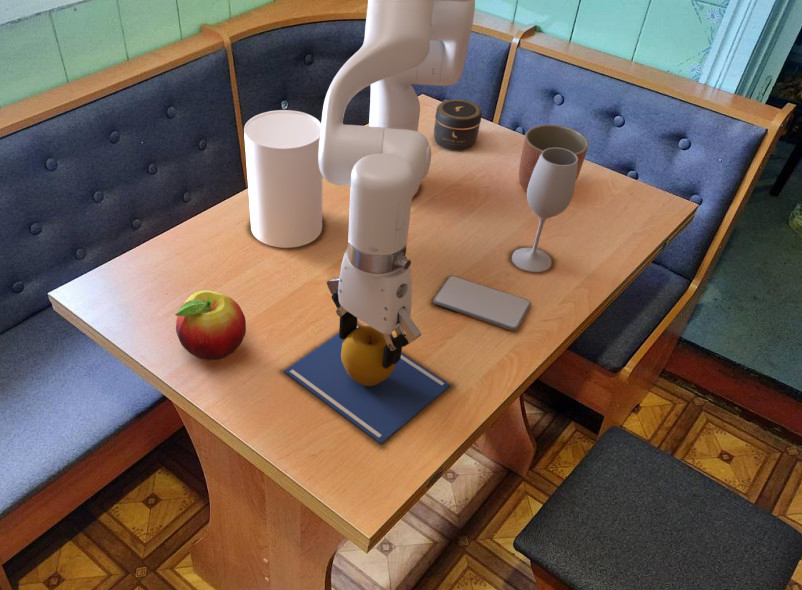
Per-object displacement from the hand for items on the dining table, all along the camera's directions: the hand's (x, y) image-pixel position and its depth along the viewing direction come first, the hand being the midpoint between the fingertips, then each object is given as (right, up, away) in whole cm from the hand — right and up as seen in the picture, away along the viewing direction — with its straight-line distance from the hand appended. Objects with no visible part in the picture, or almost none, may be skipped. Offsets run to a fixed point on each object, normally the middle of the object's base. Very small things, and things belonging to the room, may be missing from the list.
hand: (369, 348), depth 106 cm
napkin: (0, -5, +5) cm, 7 cm away
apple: (0, -4, +5) cm, 7 cm away
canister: (-14, +24, +33) cm, 43 cm away
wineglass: (+31, +17, +27) cm, 45 cm away
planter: (+38, +35, +45) cm, 68 cm away
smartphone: (+20, +8, +18) cm, 28 cm away
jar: (+22, +49, +57) cm, 78 cm away
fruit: (-24, 0, +9) cm, 26 cm away
